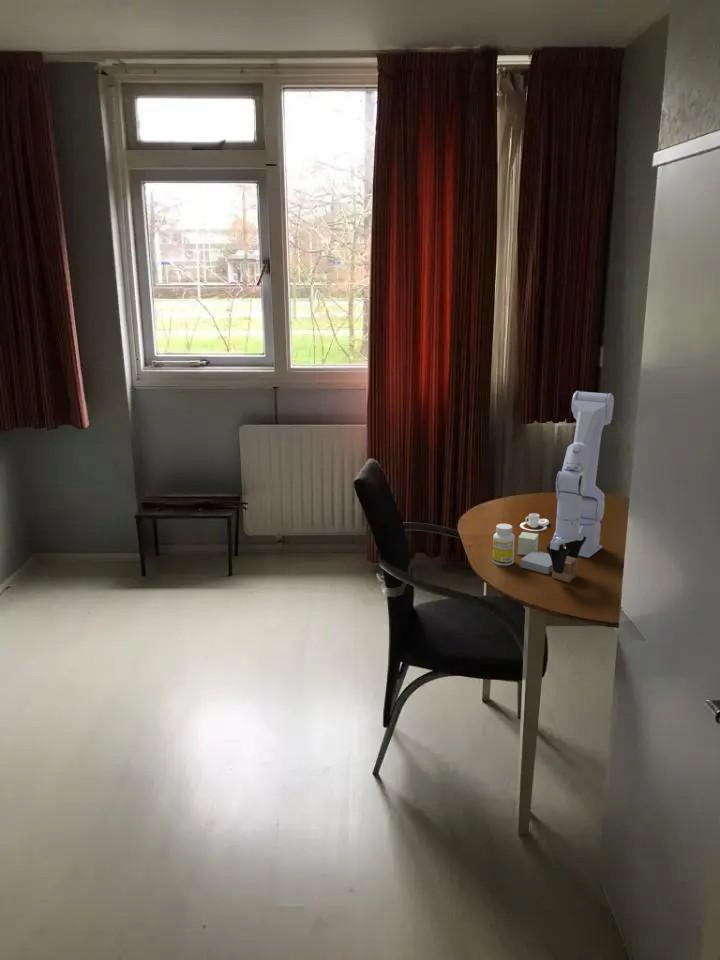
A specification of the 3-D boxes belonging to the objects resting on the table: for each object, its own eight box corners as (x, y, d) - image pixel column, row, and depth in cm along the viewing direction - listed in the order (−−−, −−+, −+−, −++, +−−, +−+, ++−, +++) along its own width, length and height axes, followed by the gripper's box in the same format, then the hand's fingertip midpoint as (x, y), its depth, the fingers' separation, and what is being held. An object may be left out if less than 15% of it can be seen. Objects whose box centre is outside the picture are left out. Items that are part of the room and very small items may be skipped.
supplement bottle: (498, 556, 209) (500, 520, 206) (517, 561, 206) (519, 525, 203) (488, 562, 205) (489, 526, 202) (507, 568, 202) (508, 531, 199)
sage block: (521, 548, 214) (522, 531, 213) (537, 550, 213) (538, 533, 211) (517, 554, 211) (518, 537, 209) (533, 556, 209) (535, 539, 207)
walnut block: (559, 572, 199) (561, 554, 197) (576, 576, 196) (577, 558, 195) (551, 578, 196) (553, 559, 194) (568, 582, 193) (569, 564, 191)
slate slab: (533, 558, 208) (534, 550, 208) (561, 566, 204) (562, 557, 203) (519, 568, 203) (520, 559, 202) (547, 576, 198) (548, 567, 197)
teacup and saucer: (547, 523, 234) (548, 510, 233) (551, 532, 227) (552, 519, 225) (518, 522, 235) (519, 510, 234) (521, 532, 227) (522, 519, 226)
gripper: (570, 528, 183) (567, 581, 187) (595, 512, 194) (591, 562, 198) (543, 522, 188) (540, 573, 191) (569, 507, 198) (565, 555, 202)
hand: (564, 567), depth 195 cm, fingers open, 7 cm apart
